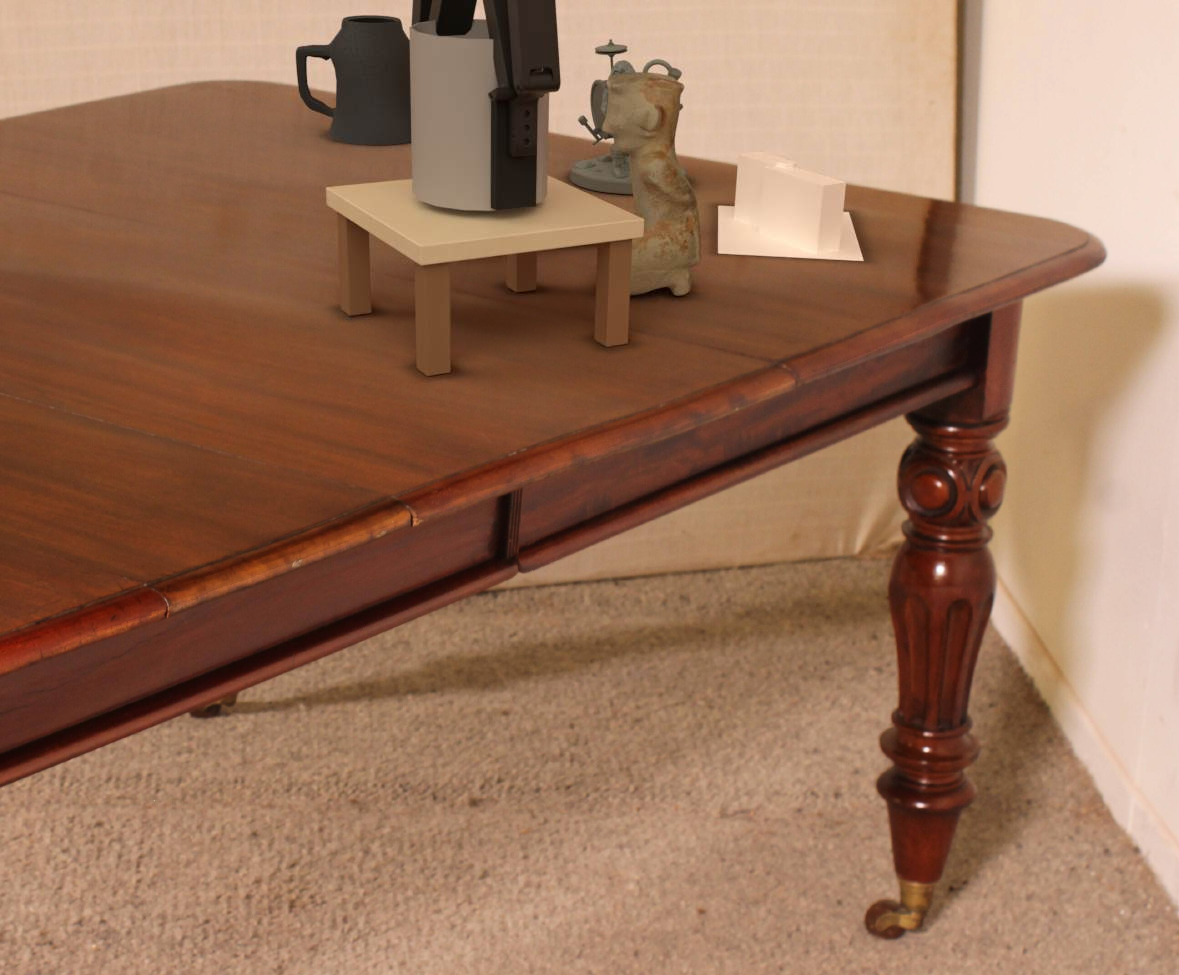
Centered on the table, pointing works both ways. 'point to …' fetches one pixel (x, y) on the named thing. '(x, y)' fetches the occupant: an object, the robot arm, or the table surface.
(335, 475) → the table surface
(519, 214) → the side table
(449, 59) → the cup
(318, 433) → the table surface
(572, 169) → the figurine
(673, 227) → the sculpture
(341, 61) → the mug
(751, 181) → the napkin holder
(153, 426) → the table surface
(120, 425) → the table surface
